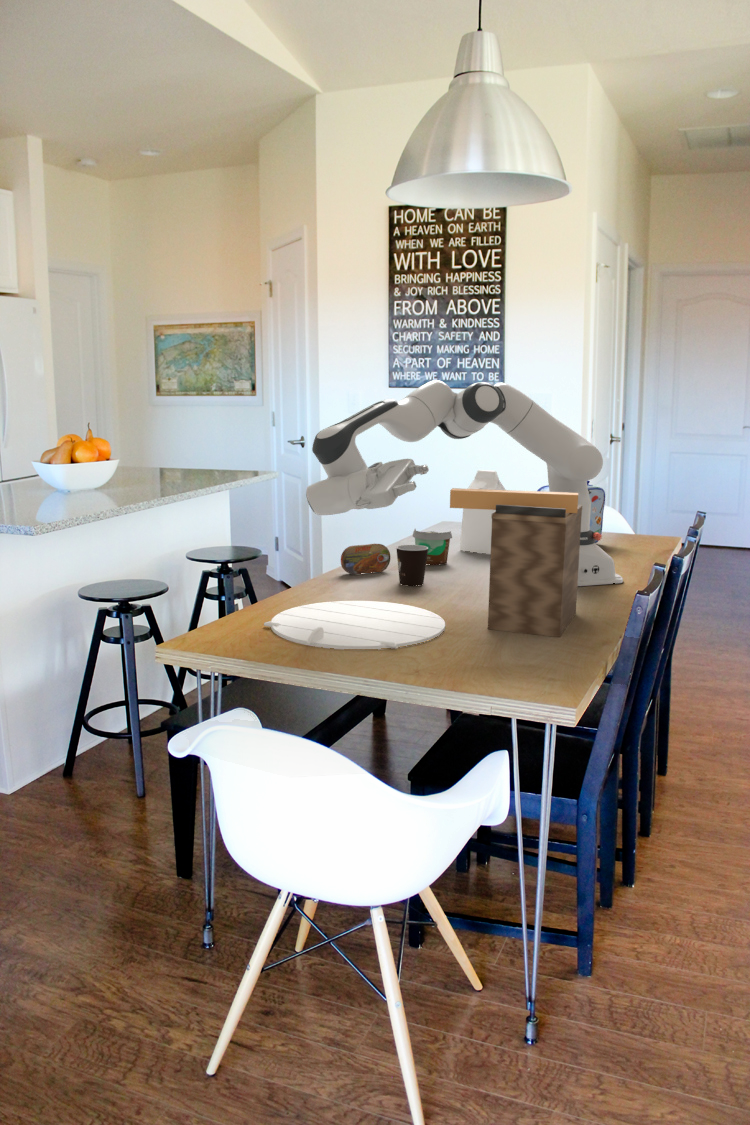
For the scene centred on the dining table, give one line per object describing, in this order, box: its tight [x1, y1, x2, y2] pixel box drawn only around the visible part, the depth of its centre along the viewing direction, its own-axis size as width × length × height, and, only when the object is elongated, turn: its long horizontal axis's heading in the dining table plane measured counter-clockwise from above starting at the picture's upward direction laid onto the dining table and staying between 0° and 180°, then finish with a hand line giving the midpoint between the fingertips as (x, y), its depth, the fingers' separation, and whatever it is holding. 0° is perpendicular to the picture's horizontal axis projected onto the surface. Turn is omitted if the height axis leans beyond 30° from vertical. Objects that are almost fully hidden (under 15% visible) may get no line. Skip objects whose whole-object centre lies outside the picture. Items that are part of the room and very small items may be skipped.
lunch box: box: [536, 480, 606, 544], centre depth 308 cm, size 28×10×22 cm, turn 123°
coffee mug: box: [395, 544, 428, 587], centre depth 249 cm, size 12×9×10 cm
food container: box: [412, 528, 453, 566], centre depth 275 cm, size 12×6×10 cm, turn 68°
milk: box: [459, 469, 506, 555], centre depth 297 cm, size 12×12×26 cm
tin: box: [340, 543, 391, 576], centre depth 261 cm, size 15×3×8 cm, turn 117°
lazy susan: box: [263, 600, 446, 650], centre depth 206 cm, size 40×39×3 cm
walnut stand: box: [487, 504, 582, 638], centre depth 209 cm, size 16×23×28 cm
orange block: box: [449, 487, 578, 513], centre depth 204 cm, size 28×4×4 cm, turn 78°
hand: (421, 476), depth 209 cm, fingers open, 8 cm apart
